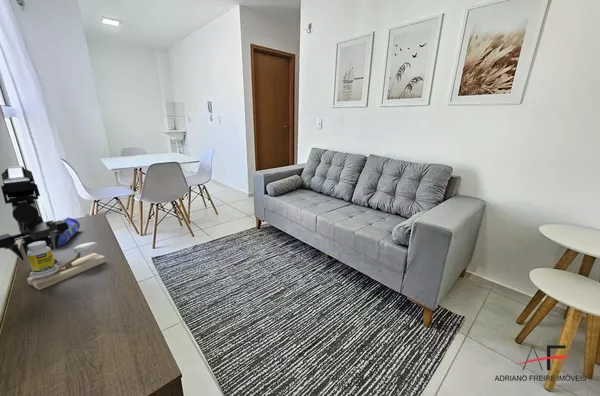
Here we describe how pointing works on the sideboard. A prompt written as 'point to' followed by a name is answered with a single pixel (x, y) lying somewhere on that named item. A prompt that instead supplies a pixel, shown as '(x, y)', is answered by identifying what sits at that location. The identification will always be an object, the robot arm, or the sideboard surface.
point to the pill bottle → (40, 257)
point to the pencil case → (68, 230)
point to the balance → (68, 267)
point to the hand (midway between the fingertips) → (39, 254)
